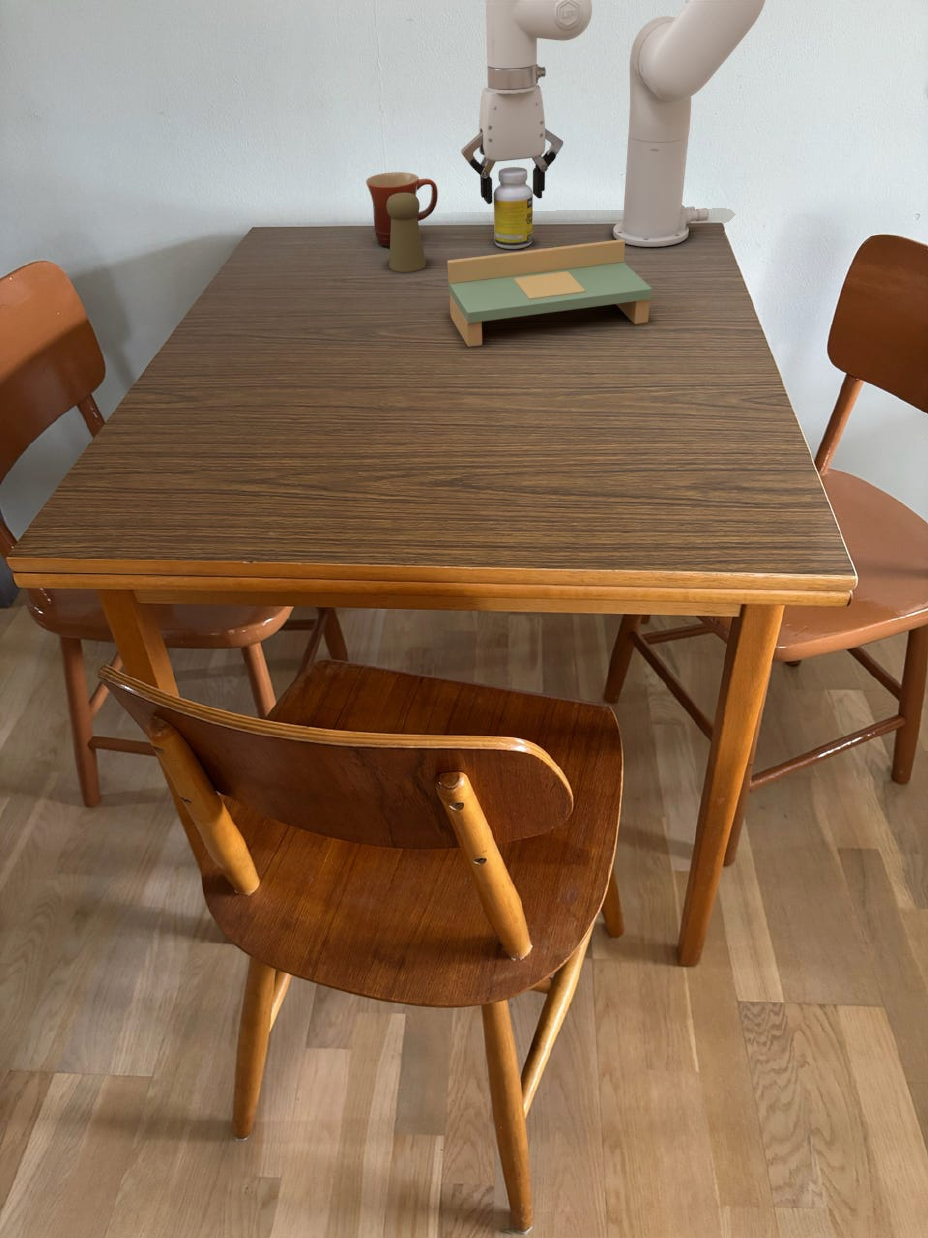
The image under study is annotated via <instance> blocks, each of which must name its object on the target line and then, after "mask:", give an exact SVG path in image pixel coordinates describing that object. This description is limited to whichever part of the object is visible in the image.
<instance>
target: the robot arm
mask: <svg viewBox="0 0 928 1238" xmlns="http://www.w3.org/2000/svg"><path fill="white" fill-rule="evenodd" d="M684 1H685V5H684V6H683V8H682V9H681V10H680V11H679V13H678V14H677V15H676V17H674V16H667V15H666V16H665V15H664V16H659V17H656V18H653V19H652V20H650V21H648V22H647V23H646V24H644V26H643V27H642V28H640V30H639V31H638V33H637V34H636V37H635V38H634V40H633V43H632V46H631V50H630V56H629V116H628V117H629V120H628V135H627V148H626V149H627V150H626V164H625V165H626V166H625V167H626V168H625V182H624V183H625V184H624V198H623V199H624V200H623V216H622V221H620V222H618V223H616V224H615V225H614V226H613V228H612V235H613V238H614V239H615V240H620V239H623V240H624V241H625V245H629V246H636V247H642V248H659V247H667V246H672V245H673V246H674V245H677V244H680V243H682V242H683V241H685V240H686V239H687V238H688V237H689V231H690V229H689V226H687V225H690V224H691V222H703V221H707V220H709V215H710V214H709V209H708V208H707V207H704V208H695V206H693V205H692V206H684V205H683V196H684V187H685V179H686V168H687V167H686V166H687V158H688V146H689V138H690V137H689V136H690V128H691V117H692V97H693V96H694V95H696V94H697V93H698V92H700V90H702V88H703V87H704V86H705V85H706V84H708V82H709V81H710V80H711V78H712V77H713V76H714V75H715V74H716V72H717V71H718V70H719V69H720V67H721V66H722V65H723V64H724V62H725V61H726V60H727V59H728V58H729V57H730V55H732V53H733V52H734V50H735V49H736V48H737V46H738V45H740V43H741V41H742V40H743V39H744V38H745V37H746V36H747V34H748V33H749V31H750V30H751V29H752V28H753V26H754V25H755V23H756V22H757V20H758V18H759V17H760V14H761V13H762V10H763V8H764V6H765V4H766V0H684ZM592 16H593V4H592V0H485V17H486V19H485V21H486V24H485V25H486V59H487V60H486V64H487V66H486V71H487V74H486V75H487V87H483V88H482V91H481V96H480V105H479V116H478V117H479V120H478V133H477V135H475V136H474V137H473V138H472V139H471V140H470V141H469V142H468V143H467V144H466V145H465V146H463V148H462V149H461V150H460V153H461V155H462V156H463V158H464V160H466V162H467V163H468V165H469V166H470V167H471V168H472V169H473V170H474V171H475V172H476V173H477V174H478V175H479V179H480V181H479V182H480V185H479V186H480V196H481V198H482V199H483V200H484V202H486V204H487V205H491V204H493V203H494V198H493V178H492V177H491V172H492V171H493V168H494V166H495V164H496V163H497V162H498V163H499V162H508V161H519V160H527V159H531V160H532V161H533V163H534V165H535V166H534V168H533V169H532V192H533V196H535V197H536V198H537V199H543V192H545V190H546V172H547V171H548V169H549V167H550V166H551V165H552V163H553V162H554V161H555V160H556V158H557V155H558V154H559V153H560V150H561V149H562V147H564V141H563V140H562V139H561V138H560V137H559V136H557V135H556V134H554V133H552V132H551V131H550V130H548V129H547V128H546V120H545V109H544V101H543V100H544V99H543V95H542V89H541V86H540V85H539V79H541V78H545V77H546V75H547V69H546V67H545V66H539V64H538V56H537V55H538V39H542V40H552V41H559V42H560V41H561V42H563V41H565V42H566V41H570V40H573V39H576V38H578V37H579V36H580V35H582V34H583V33H584V32H585V31H586V30H587V28H588V26H589V24H590V22H591V19H592ZM546 141H548V142H549V143H550V147H549V149H548V150H547V151H546V152H545V150H546ZM477 150H478V151H479V153H480V155H482V156H483V158H482V160H481V161H480V162H479V161H478V160H477V159H476V157H475V156H474V154H475V152H476V151H477Z"/></svg>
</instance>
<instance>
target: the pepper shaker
mask: <svg viewBox="0 0 928 1238" xmlns="http://www.w3.org/2000/svg"><path fill="white" fill-rule="evenodd" d="M386 206H387V211H388V214H389V215H390V217H391V236H390V248H389V265H388V267H389V269H390V270H392V271H394V272H400V273H410V272H417V271H420V270H422V269H424V268H425V267H426V266H427V261H426V260H427V259H426V256H425V251H424V250H425V249H424V245H423V240H422V235H421V231H420V225H419V221H418V220H417V215H418V213H419V212H420V207H421V206H420V201H419V198H418V197H417V194H416V195H414V194H412V193H397V194H393V195H392V196H390V197H389V198H388V201H387V205H386Z"/></svg>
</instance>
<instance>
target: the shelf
mask: <svg viewBox="0 0 928 1238" xmlns="http://www.w3.org/2000/svg"><path fill="white" fill-rule="evenodd" d="M625 251H626V244H625V241H624V240H623V239H620V240H617V239H614V240H605V241H597V242H588V243H579V244H572V245H563V246H558V247H557V246H556V247H549V248H538V249H531V250H523V251H514V252H507V253H498V254H490V255H489V254H488V255H482V256H474V257H466V258H457V259H450V260H449V259H448V260H447V261H446V263H447V282H448V284H447V285H448V293H449V309H450V318H451V320H452V321H453V323H454V325H455V328H457V330H458V332H459V334H460V335H461V337H462V339H463V340H464V342H465V344H466V346H467V347H468V348H470V347H478V346H483V327H482V326H483V324H482V323H483V322H488V321H489V322H490V321H497V320H504V319H511V318H519V317H526V316H535V315H541V314H551V313H558V312H565V311H572V310H573V311H574V310H579V309H587V308H595V307H602V306H609V305H616V306H617V308H619V309H620V311H621V312H622V313H623V314H624V315H625V316H626V317H627V318H628V319H629V320H630V321H631V322H632V323H633V324H634V325H640V324H646V323H649V316H650V315H649V314H650V303H651V300H652V298H653V297H652V296H653V288H652V287H651V286H650V285H649V284H648V283H647V282H646V281H645V280H644V279H642V277H641V276H639V275H638V274H637V273H636V272H635V271H634V270H633V269H632V268H630V266H628V264H627V263H625Z"/></svg>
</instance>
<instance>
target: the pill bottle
mask: <svg viewBox="0 0 928 1238" xmlns="http://www.w3.org/2000/svg"><path fill="white" fill-rule="evenodd" d="M497 179H498V182H499V185H498V186H497V187H496V188H495V189H494V191H493V227H494V228H493V229H494V231H493V232H494V234H493V235H494V244H495V245H496V246H497V247H499V248H501V249H504V250H520V249H524V248H527V247H528V246H530V245H531V244H532V242H533V237H534V235H533V234H534V233H533V231H534V230H533V224H534V223H533V221H534V219H533V218H534V217H533V214H534V213H533V212H534V210H533V207H534V205H533V203H534V201H533V200H534V194H533V188H531V187H530V186H529V185H528V184H527V183H526V182H527V180H528V170H527V168H524V167H520V166H518V167H517V166H516V167H515V166H513V167H504V168H501V169H499V170H498V178H497Z"/></svg>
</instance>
